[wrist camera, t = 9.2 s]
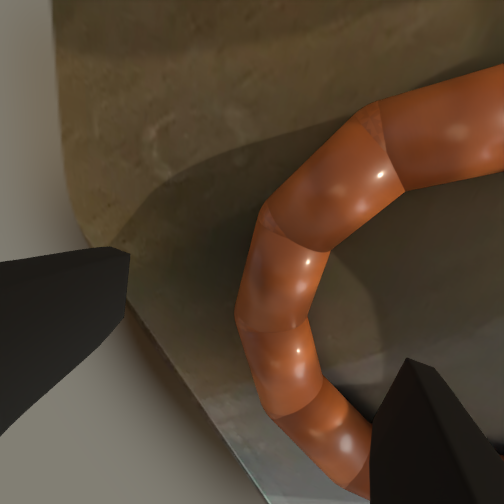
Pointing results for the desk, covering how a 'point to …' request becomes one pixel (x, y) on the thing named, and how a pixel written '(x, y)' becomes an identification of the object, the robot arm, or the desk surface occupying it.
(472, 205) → the desk surface
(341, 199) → the ring
